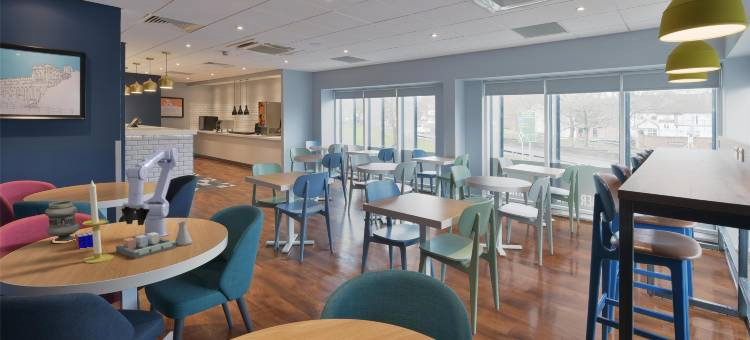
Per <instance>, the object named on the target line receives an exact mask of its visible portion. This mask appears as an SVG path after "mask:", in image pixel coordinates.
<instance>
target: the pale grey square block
mask: <svg viewBox="0 0 750 340" xmlns="http://www.w3.org/2000/svg"><path fill="white" fill-rule="evenodd" d="M147 236H148V241H150V242H153V243H159V242H160V241H159V238H160V237H159V233H155V232H153V233H149V234H147Z"/></svg>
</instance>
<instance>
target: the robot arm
mask: <svg viewBox="0 0 750 340" xmlns="http://www.w3.org/2000/svg"><path fill="white" fill-rule="evenodd" d="M179 157H180V154H179V150H178V149H177V148H176V147H173V148H172V147H156V148H155V149H153V153H152V154H151V155H150V156H149V157H148V158H146V157H145V158H142V159H141V160H140V161H139V162H138V163H136V164H135V165H133V166H130V167H128V168H127V169H126V172H125V177H126V179H127V180H126V182H127V184H128V192H127V193H128V196H127V197H128V198H127V200H128V201H127V202H123V203H122V208H121V209H120V210H121V212H122V213H123V215H124V219H125V222H126V225H132V224H133V221H134V215H135V214H136V218H137V226H144V234H142V235H145V236H147V234H149V233H153V232H155V233H159V238H162V237H165V236H169V235H171V234H170V233H169V232H166V231H167V230H166V217H167V216H168V214H169V210H170V203H169V201H168V200H167V199H166V196H167V193H168V190H169V187H170V184H171V179H172V176H173V173H174V170H175V167H176V166H177V163H178V160H179ZM155 164H157V165H158V167H161V170H160V174H159V176H158V177H159V178H158V180H157V183H156V187H155V189H154V192H153V195H152V197H150V198H149V199H147V201H146V203H144V190H145V188H144V187H145V186H144V185H145V179H147V177H148V174H149V173H150V172H151V171H152V170H153V169H154V167H155Z"/></svg>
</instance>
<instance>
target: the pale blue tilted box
mask: <svg viewBox="0 0 750 340" xmlns="http://www.w3.org/2000/svg"><path fill="white" fill-rule="evenodd" d="M134 239H136V244H139V245H142V246H147V245H148V236H145V235H143V234H141V235H136V236H135V238H134Z"/></svg>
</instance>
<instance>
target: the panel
mask: <svg viewBox="0 0 750 340" xmlns="http://www.w3.org/2000/svg"><path fill="white" fill-rule="evenodd" d="M159 241H160V242H159V243H153V242H150V241H148V245H147V246H142V245H139V244H136V248H135V249H129V248H126V247H124V245H120V244H118V245H115V251H116V253H119V254H122V255H125V256H127V257H130V258H132V259H136V260H137V259H140V258H144V257H147V256H150V255H151V256H152V255H155V254H158V253H162V252H166V251H169V250H173V249H176V248H177V245H176V242H175V241H176V240H169V239H165V238H162V237H159Z"/></svg>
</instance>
